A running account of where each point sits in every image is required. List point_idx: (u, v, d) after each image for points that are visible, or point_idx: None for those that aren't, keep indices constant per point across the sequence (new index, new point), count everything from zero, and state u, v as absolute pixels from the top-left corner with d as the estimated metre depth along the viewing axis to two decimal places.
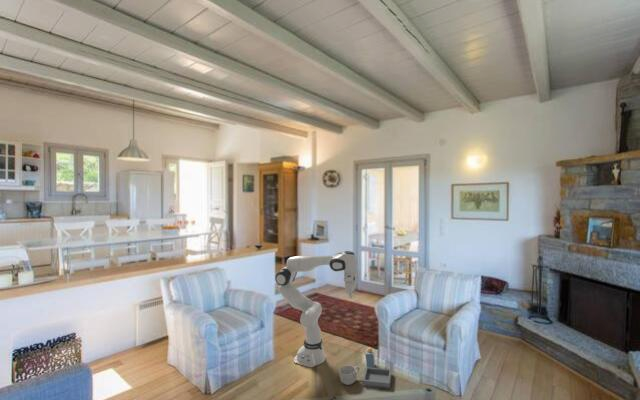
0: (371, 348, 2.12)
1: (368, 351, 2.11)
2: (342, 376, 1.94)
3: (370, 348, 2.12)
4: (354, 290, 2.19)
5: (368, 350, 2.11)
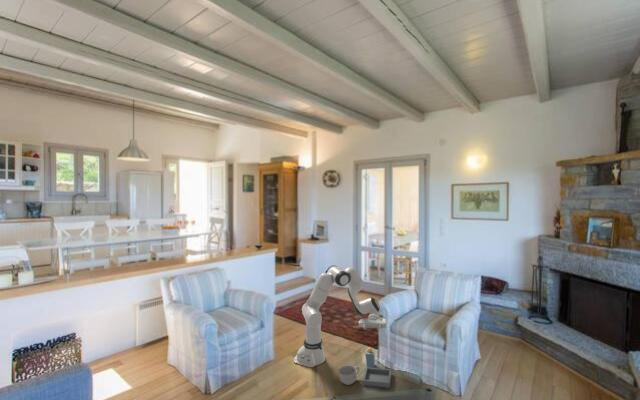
0: (371, 348, 2.12)
1: (368, 351, 2.11)
2: (342, 376, 1.94)
3: (370, 348, 2.12)
4: (365, 328, 2.26)
5: (368, 350, 2.11)
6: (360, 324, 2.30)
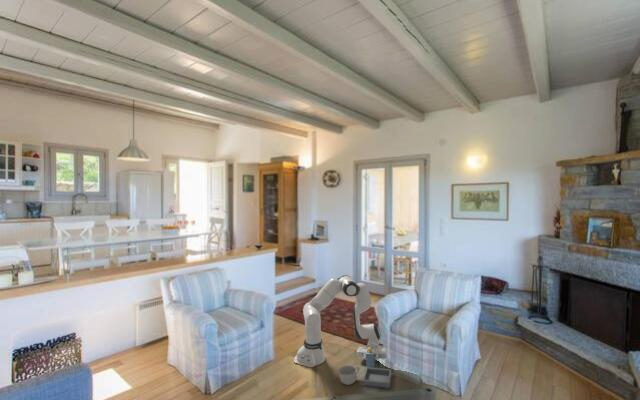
0: (371, 348, 2.12)
1: (368, 351, 2.12)
2: (342, 376, 1.94)
3: (370, 348, 2.12)
4: None
5: (368, 350, 2.11)
6: (358, 353, 2.19)
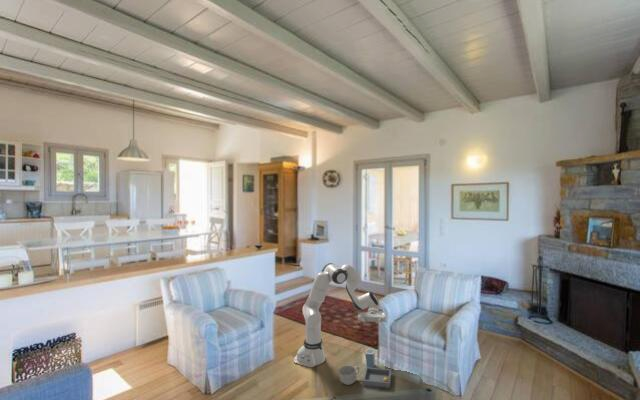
0: None
1: (383, 380, 1.94)
2: (342, 376, 1.94)
3: None
4: (365, 321, 2.26)
5: (384, 381, 1.94)
6: (359, 318, 2.30)
